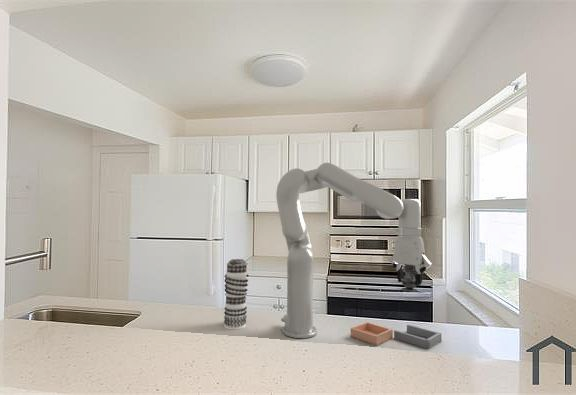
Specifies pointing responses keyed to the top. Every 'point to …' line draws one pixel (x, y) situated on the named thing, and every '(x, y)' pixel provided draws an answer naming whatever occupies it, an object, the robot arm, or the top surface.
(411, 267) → the chess piece
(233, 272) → the striped cylinder tower
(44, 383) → the top surface
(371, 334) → the dish
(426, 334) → the cubby
